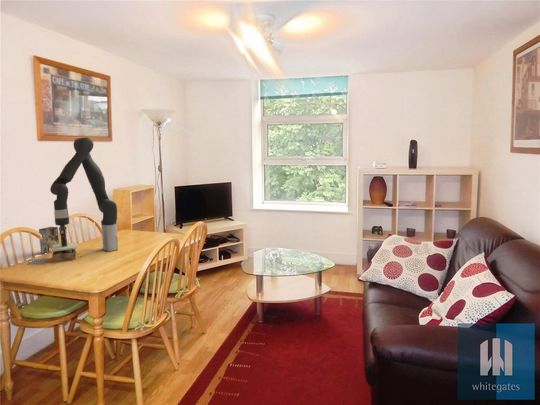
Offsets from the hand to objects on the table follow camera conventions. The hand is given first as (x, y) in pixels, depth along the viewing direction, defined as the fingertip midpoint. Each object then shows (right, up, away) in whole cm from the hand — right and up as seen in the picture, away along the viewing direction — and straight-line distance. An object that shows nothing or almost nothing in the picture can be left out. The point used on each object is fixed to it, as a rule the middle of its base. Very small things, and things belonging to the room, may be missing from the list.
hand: (64, 244), depth 242 cm
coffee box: (-19, -7, +18) cm, 27 cm away
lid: (0, -2, 0) cm, 2 cm away
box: (0, -9, +1) cm, 9 cm away
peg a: (+1, -8, +4) cm, 9 cm away
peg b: (-2, -9, -2) cm, 9 cm away
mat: (-13, -10, -5) cm, 17 cm away
